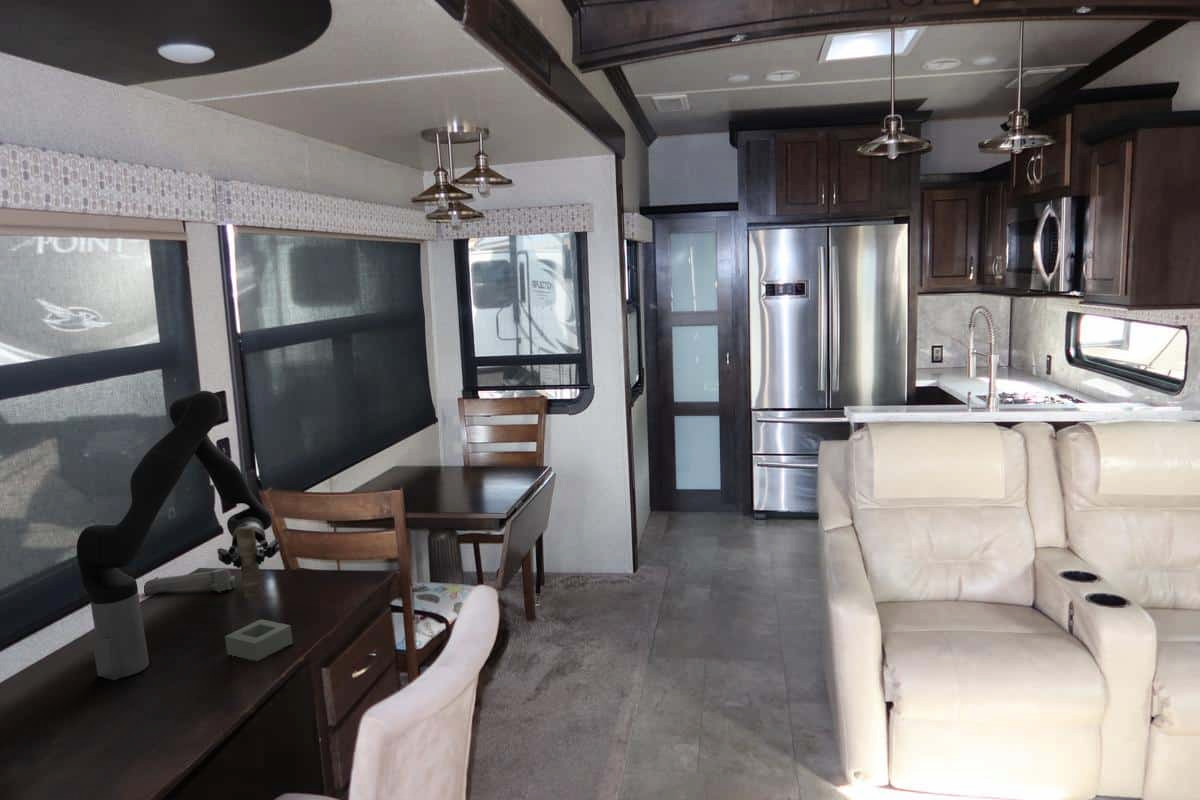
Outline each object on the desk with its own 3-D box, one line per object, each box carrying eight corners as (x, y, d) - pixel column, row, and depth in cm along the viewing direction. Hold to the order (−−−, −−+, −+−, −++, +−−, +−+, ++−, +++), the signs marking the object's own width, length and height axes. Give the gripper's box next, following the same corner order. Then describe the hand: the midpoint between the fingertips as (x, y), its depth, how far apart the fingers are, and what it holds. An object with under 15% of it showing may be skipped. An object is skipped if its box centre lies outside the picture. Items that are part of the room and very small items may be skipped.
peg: (252, 600, 193) (243, 532, 190) (240, 597, 195) (232, 530, 192) (266, 593, 196) (257, 526, 194) (254, 591, 198) (246, 525, 195)
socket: (257, 662, 191) (255, 643, 190) (227, 654, 195) (224, 636, 195) (292, 643, 199) (290, 625, 198) (263, 636, 204) (260, 619, 203)
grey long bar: (148, 577, 240) (233, 560, 238) (154, 599, 241) (240, 583, 240) (137, 584, 234) (225, 567, 233) (144, 606, 236) (231, 590, 234)
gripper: (215, 530, 204) (211, 551, 188) (278, 520, 209) (280, 540, 193) (219, 560, 205) (216, 584, 189) (281, 550, 210) (284, 572, 194)
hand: (248, 561), depth 191 cm, fingers closed on peg, 3 cm apart
